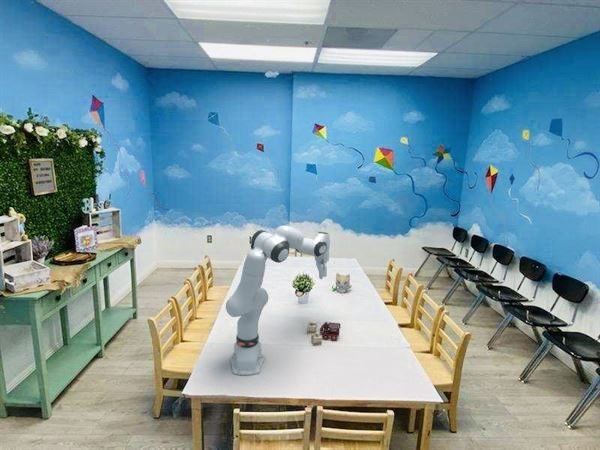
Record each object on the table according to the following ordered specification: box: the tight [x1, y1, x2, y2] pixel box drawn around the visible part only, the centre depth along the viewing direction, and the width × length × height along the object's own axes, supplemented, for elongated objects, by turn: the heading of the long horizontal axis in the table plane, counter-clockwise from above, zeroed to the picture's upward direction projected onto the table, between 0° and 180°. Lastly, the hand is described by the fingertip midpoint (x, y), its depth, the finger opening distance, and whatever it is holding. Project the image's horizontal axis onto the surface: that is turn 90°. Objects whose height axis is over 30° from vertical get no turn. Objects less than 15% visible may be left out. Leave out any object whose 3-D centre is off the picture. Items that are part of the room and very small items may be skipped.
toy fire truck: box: [319, 321, 341, 342], centre depth 231 cm, size 7×12×10 cm, turn 80°
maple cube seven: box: [307, 322, 318, 335], centre depth 238 cm, size 5×5×5 cm
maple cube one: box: [310, 332, 323, 347], centre depth 225 cm, size 5×5×5 cm
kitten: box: [331, 272, 353, 294], centre depth 299 cm, size 15×10×15 cm, turn 76°
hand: (320, 278), depth 238 cm, fingers closed
